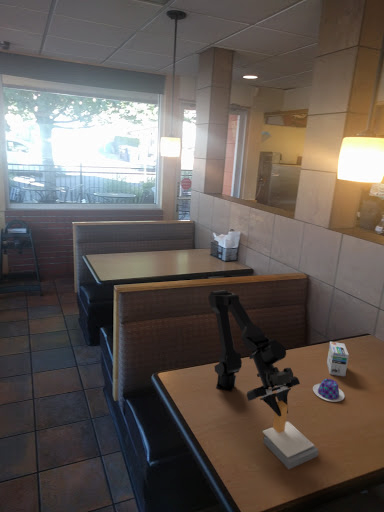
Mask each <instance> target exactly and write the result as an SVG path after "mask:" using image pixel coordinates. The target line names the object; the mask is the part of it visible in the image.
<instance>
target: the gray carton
mask: <svg viewBox="0 0 384 512" xmlns="http://www.w3.org/2000/svg"><path fill="white" fill-rule="evenodd" d="M262 441H263V444H264V445H265V446H266V447H267V448H268V449H269V451H271V453H272V454H273V455H274V456H276V458H277V459H278V460H279V461H280V462H281V463H282V464H283V465H284V466H285V467H286V469H288V470H290V469H293V468H295V467H297V466H300V465H302V464H304V463H306V462H308V461H311V460H313V459H314V458H317V457H318V455H319V449H318V448H317V446H315V445H314V447H311V448H309V449H307V450H304V451H302V452H300V453H298V454H295V455H293V456H291V457H288V458H287V457H286V456H285V455H284V454H283V453H282V452H281V451H280V450H279V449H278V448H277V447H276V446H275V445H274V443H273V442H272V441H271V440H270V439H269V438H268V437H267V436H266V435H265V436H263V440H262Z"/></svg>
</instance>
